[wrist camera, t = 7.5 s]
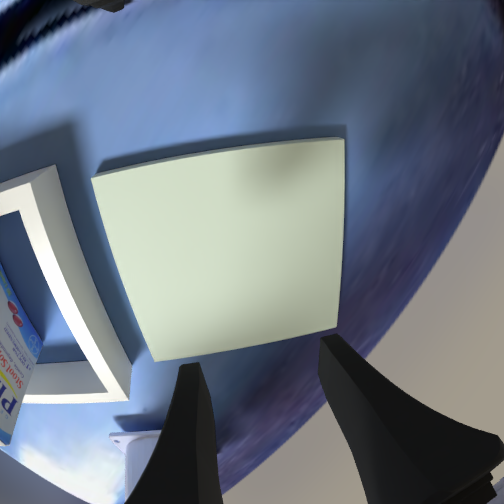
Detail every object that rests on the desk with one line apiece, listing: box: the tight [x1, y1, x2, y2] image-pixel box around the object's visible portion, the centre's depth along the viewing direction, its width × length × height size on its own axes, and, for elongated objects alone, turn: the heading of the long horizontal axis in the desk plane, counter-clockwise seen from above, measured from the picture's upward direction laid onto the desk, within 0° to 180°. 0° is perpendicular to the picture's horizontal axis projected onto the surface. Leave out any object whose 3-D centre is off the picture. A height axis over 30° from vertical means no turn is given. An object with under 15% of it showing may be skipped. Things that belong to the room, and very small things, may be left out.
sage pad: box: [91, 137, 345, 362], centre depth 17 cm, size 12×12×1 cm
